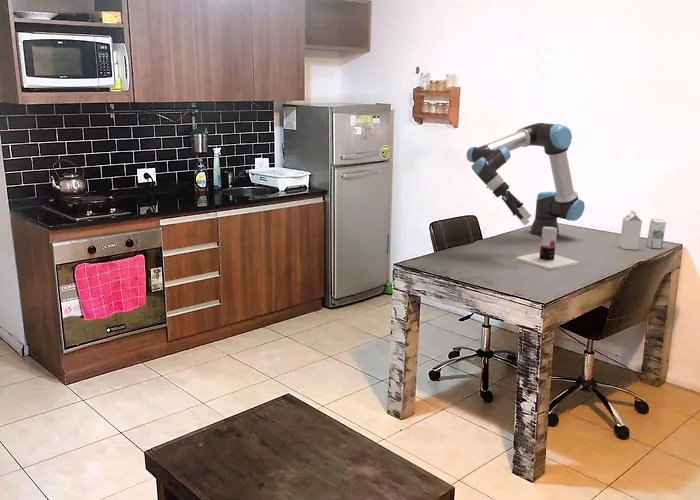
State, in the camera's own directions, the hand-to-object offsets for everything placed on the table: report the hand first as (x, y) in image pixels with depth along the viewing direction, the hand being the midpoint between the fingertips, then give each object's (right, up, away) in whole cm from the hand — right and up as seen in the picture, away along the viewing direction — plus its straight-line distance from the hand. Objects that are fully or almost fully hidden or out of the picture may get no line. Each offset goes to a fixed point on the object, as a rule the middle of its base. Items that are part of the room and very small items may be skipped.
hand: (528, 220), depth 299 cm
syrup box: (+74, -13, +32) cm, 81 cm away
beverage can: (+9, -18, +2) cm, 20 cm away
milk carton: (+59, -13, +30) cm, 68 cm away
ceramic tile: (+9, -19, +2) cm, 21 cm away
